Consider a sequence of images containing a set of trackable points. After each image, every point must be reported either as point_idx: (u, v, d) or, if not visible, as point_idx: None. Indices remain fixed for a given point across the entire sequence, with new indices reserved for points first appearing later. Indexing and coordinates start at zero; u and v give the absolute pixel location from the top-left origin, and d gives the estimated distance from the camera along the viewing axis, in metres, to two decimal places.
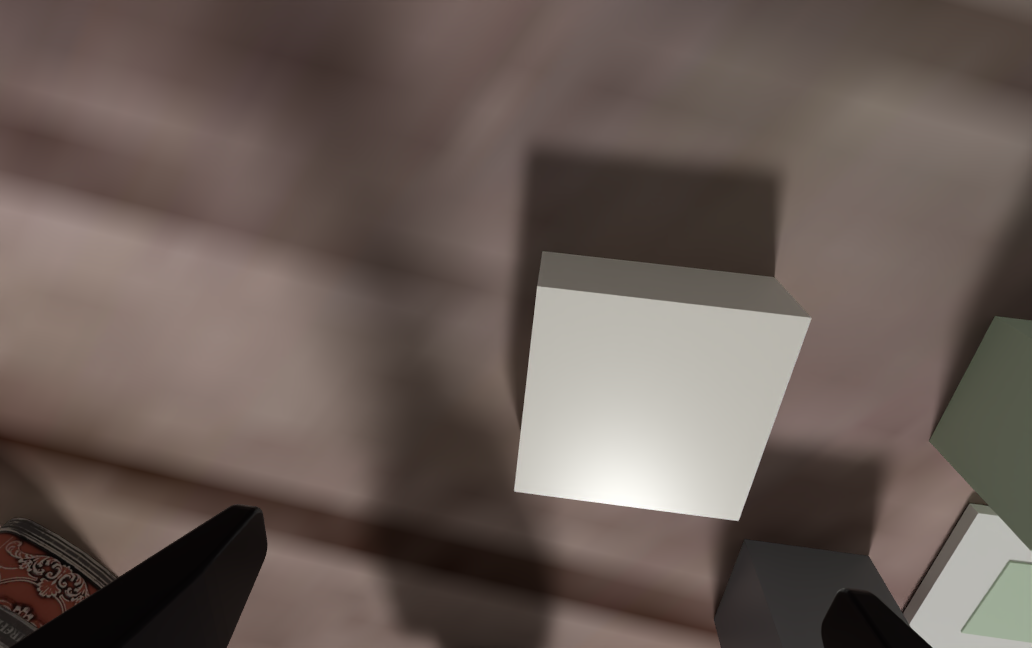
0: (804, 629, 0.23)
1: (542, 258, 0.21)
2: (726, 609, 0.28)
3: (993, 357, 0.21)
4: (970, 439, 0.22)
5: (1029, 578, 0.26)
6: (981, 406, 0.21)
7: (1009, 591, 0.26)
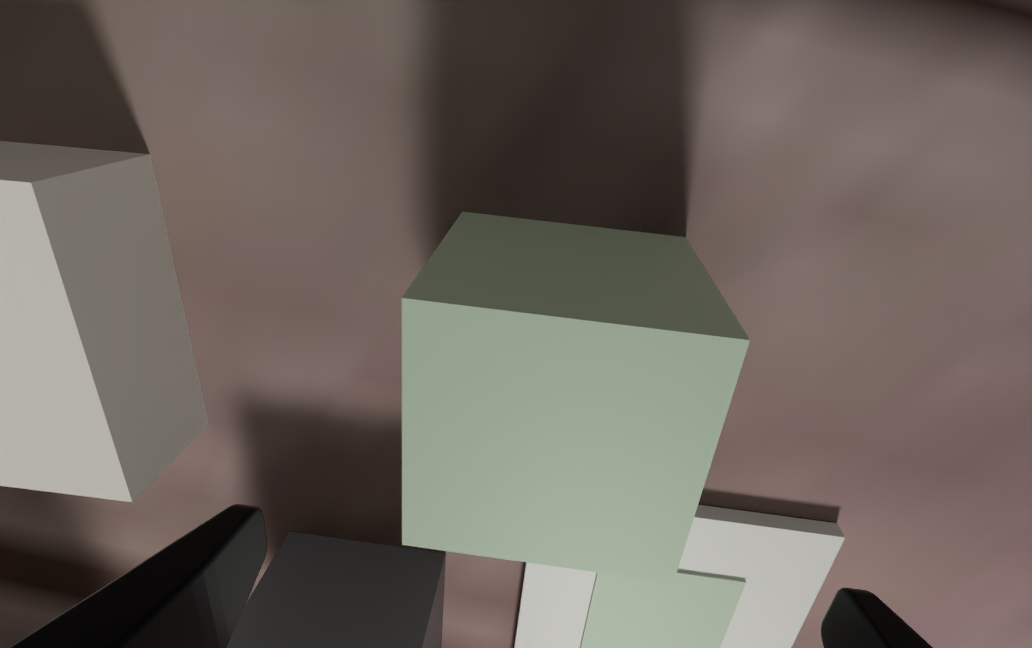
0: None
1: None
2: None
3: None
4: None
5: (634, 583, 0.20)
6: None
7: (614, 600, 0.20)
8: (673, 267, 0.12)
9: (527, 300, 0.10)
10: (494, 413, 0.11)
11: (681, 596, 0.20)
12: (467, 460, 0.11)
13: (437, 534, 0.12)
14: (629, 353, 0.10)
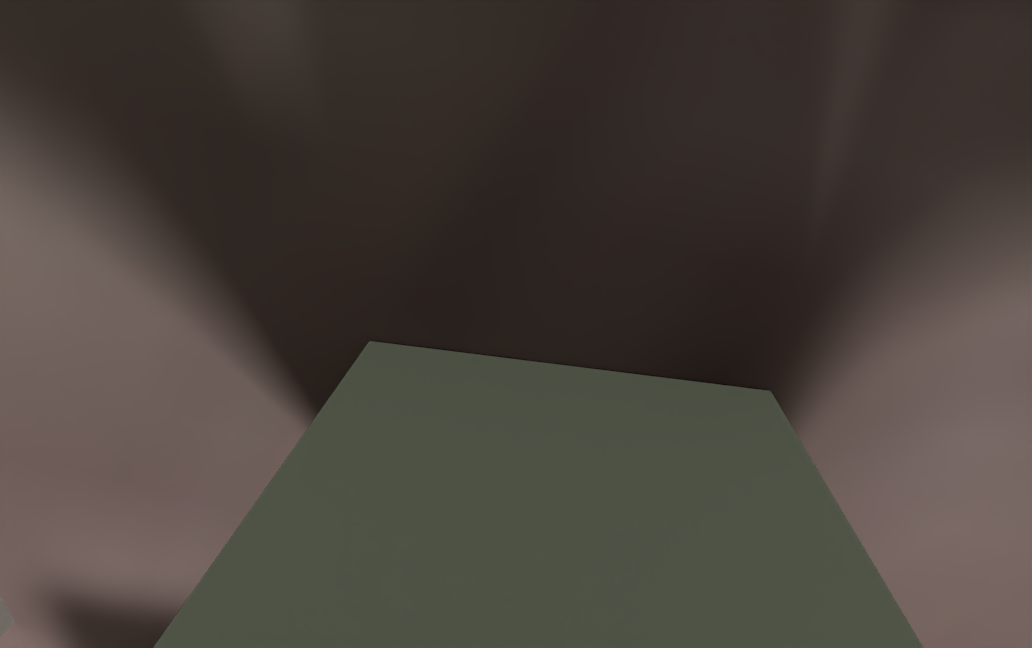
0: None
1: None
2: None
3: None
4: None
5: None
6: None
7: None
8: (780, 520, 0.06)
9: None
10: None
11: None
12: None
13: None
14: None
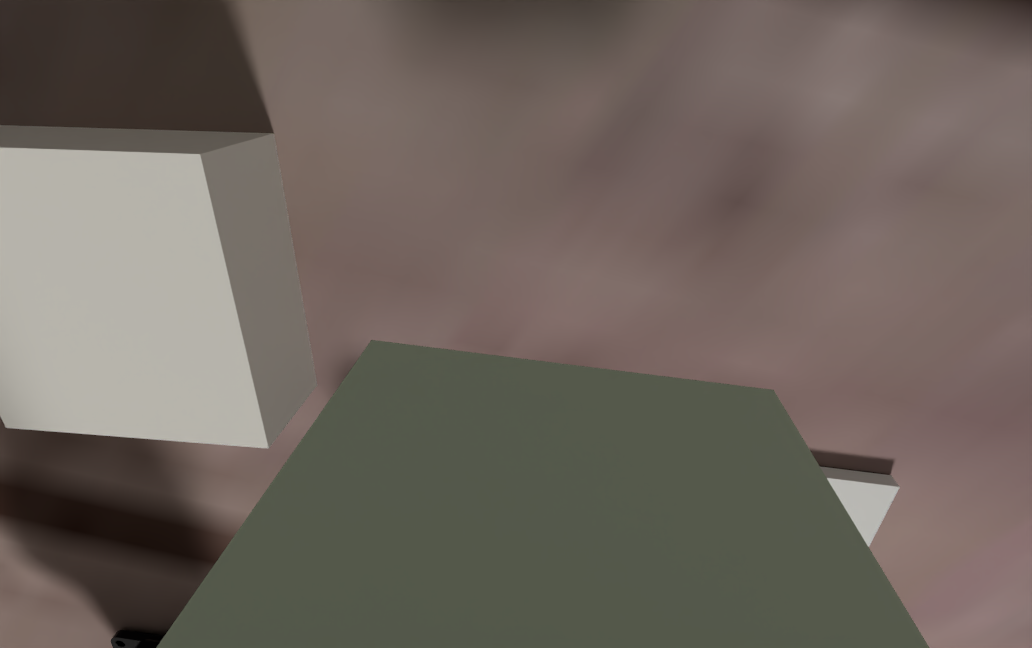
0: None
1: None
2: None
3: None
4: None
5: None
6: None
7: None
8: (784, 518, 0.06)
9: None
10: None
11: None
12: None
13: None
14: None
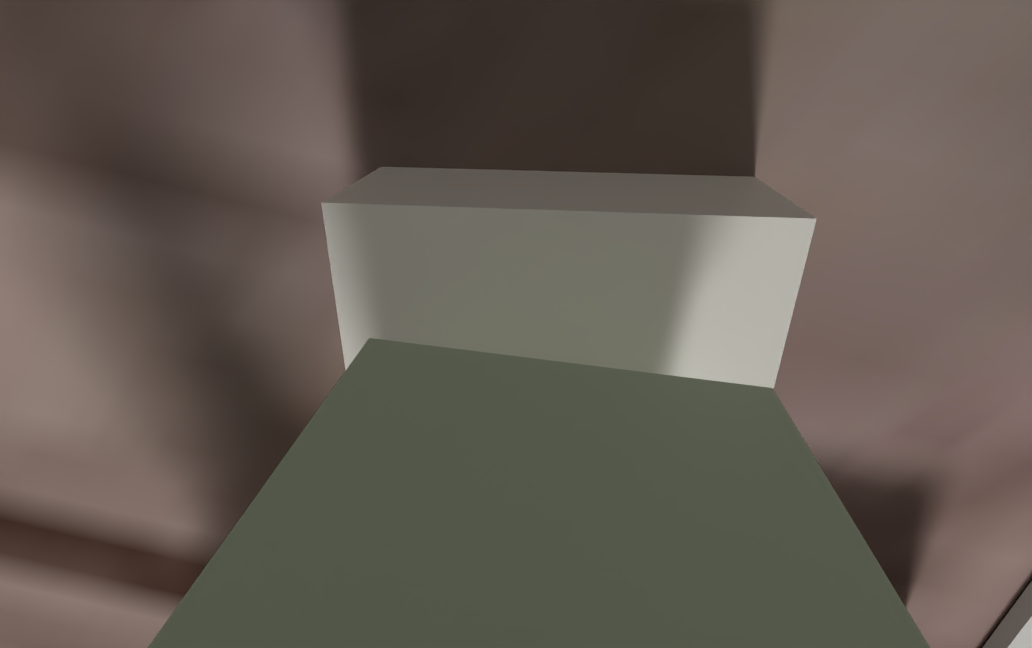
0: None
1: (371, 173, 0.13)
2: None
3: None
4: None
5: None
6: None
7: None
8: (783, 517, 0.06)
9: None
10: None
11: None
12: None
13: None
14: None
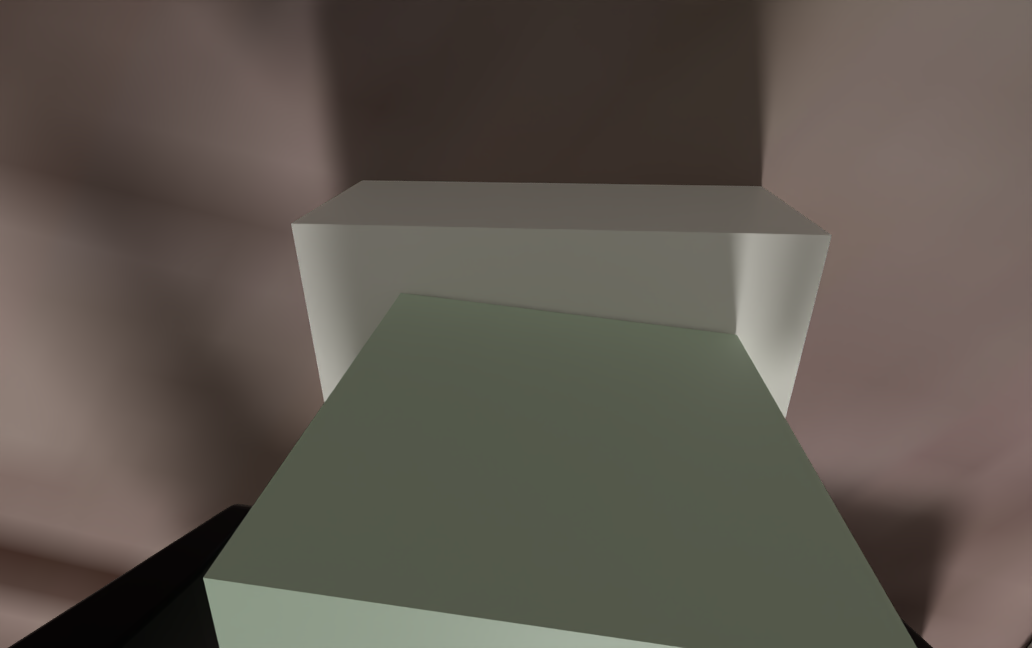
0: None
1: (351, 188, 0.12)
2: None
3: None
4: None
5: None
6: None
7: None
8: (733, 419, 0.07)
9: (470, 559, 0.05)
10: None
11: None
12: None
13: None
14: None
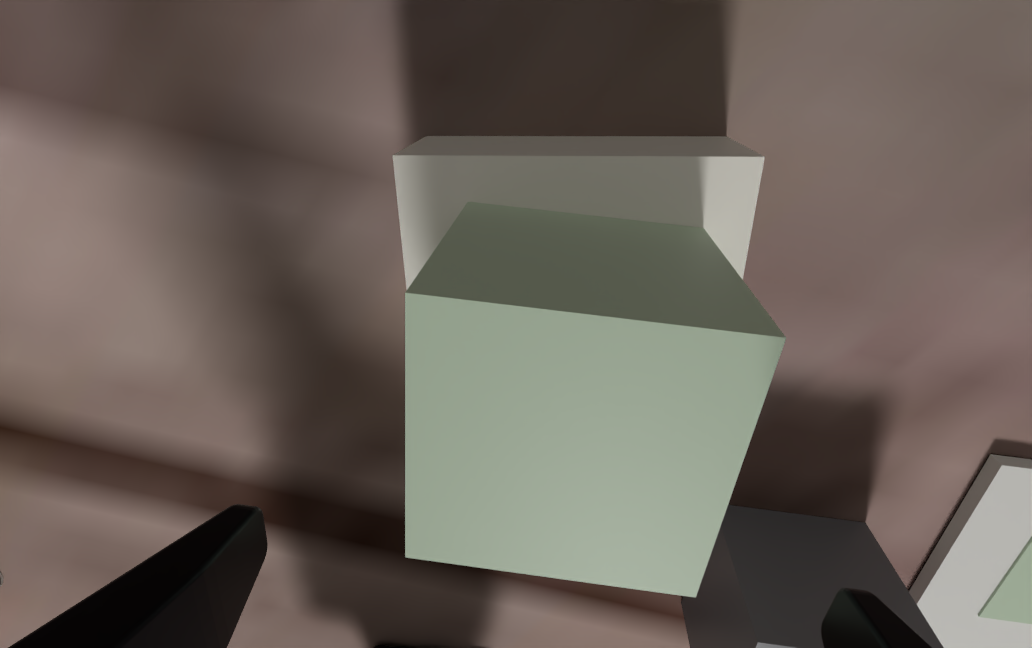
0: (783, 609, 0.18)
1: (421, 139, 0.16)
2: None
3: None
4: None
5: None
6: None
7: None
8: (695, 260, 0.12)
9: (541, 295, 0.09)
10: (506, 417, 0.10)
11: None
12: (475, 468, 0.10)
13: (443, 545, 0.11)
14: (653, 353, 0.09)
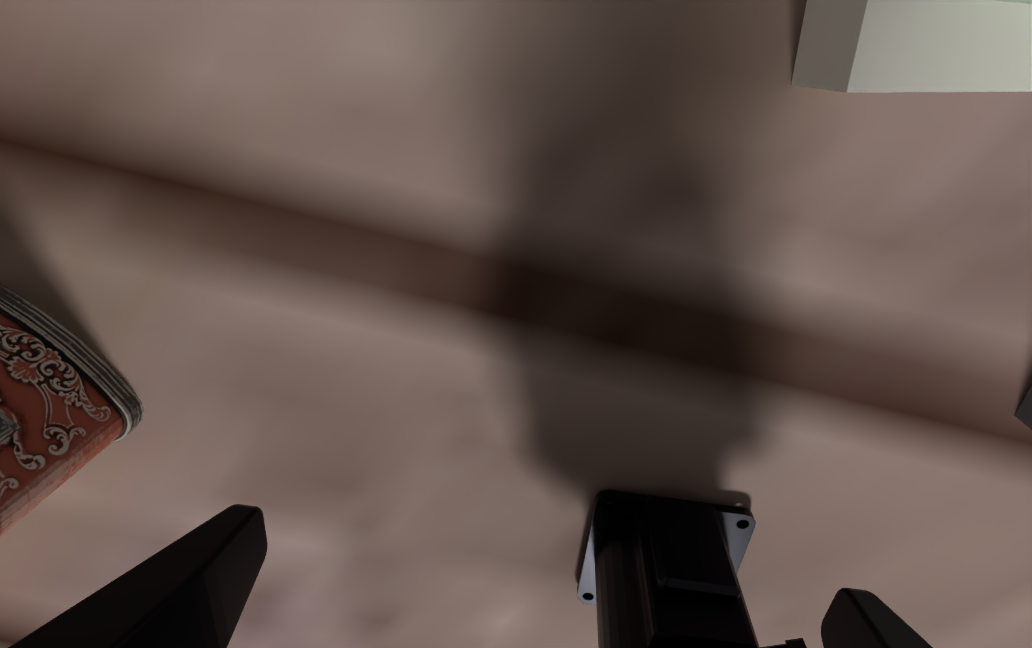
0: None
1: None
2: None
3: None
4: None
5: None
6: None
7: None
8: None
9: None
10: None
11: None
12: None
13: None
14: None
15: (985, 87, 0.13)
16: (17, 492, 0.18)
